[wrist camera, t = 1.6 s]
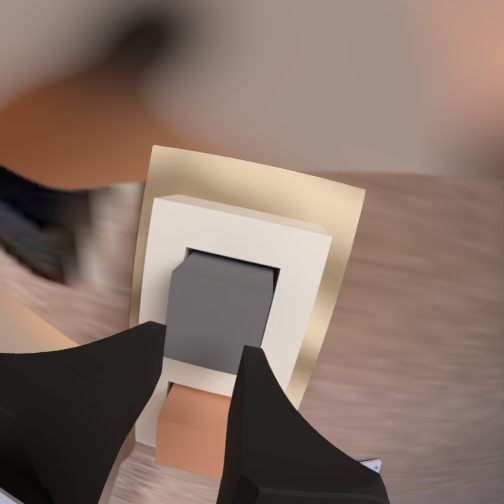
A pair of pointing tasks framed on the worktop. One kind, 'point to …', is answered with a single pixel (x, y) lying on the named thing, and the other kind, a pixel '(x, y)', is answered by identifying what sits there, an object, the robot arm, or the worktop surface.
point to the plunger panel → (241, 247)
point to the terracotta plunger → (193, 431)
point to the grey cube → (216, 310)
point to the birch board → (268, 201)
